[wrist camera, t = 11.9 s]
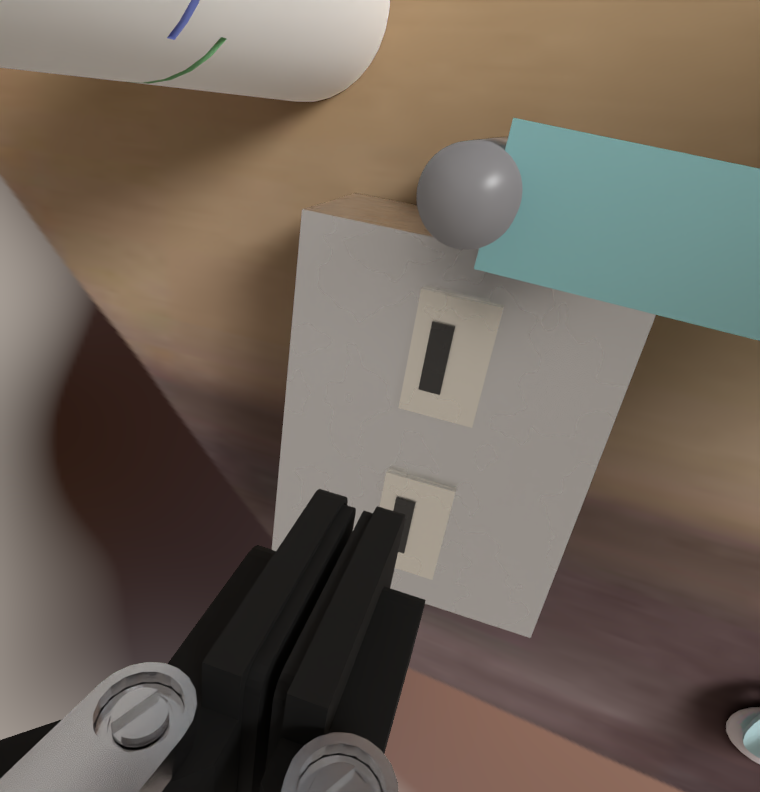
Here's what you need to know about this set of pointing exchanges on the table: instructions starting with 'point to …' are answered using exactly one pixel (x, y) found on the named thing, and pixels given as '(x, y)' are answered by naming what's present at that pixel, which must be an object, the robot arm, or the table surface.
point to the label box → (447, 405)
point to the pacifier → (746, 732)
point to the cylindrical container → (199, 43)
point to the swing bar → (604, 221)
